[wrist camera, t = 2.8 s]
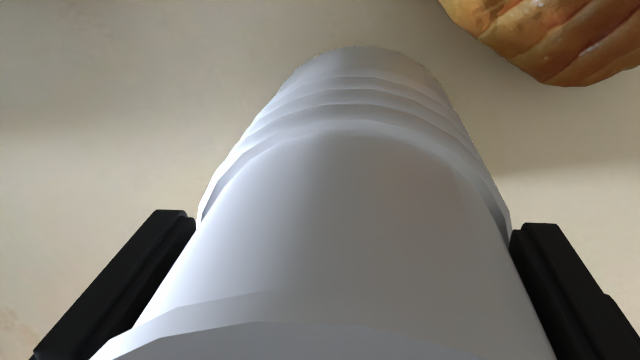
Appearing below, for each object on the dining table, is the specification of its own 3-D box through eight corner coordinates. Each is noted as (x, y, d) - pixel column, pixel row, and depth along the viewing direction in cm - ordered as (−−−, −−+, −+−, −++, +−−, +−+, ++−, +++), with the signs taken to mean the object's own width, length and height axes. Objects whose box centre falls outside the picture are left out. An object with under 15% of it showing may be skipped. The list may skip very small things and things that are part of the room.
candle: (347, 230, 21) (297, 734, 7) (240, 109, 19) (-93, 486, 5) (486, 140, 18) (790, 644, 5) (378, -8, 17) (393, 152, 3)
